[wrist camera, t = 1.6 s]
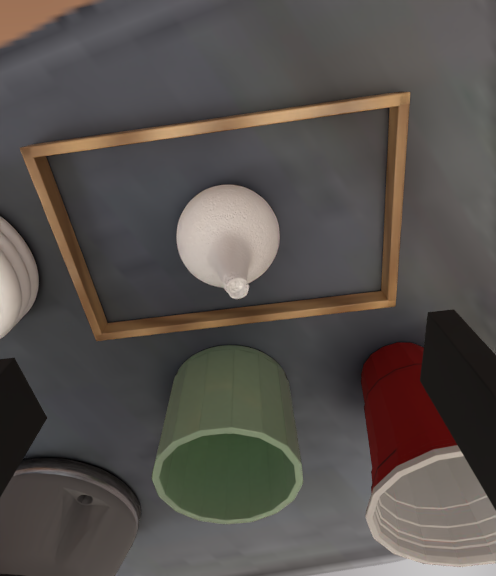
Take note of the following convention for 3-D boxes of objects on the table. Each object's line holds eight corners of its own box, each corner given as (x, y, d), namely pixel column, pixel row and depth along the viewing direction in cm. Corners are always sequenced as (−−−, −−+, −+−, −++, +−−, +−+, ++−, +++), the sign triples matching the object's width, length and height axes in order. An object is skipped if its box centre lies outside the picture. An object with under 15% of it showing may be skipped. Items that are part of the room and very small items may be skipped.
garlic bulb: (174, 182, 23) (144, 225, 16) (276, 176, 23) (292, 217, 16) (187, 274, 26) (167, 345, 19) (278, 269, 26) (291, 338, 19)
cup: (186, 436, 34) (171, 529, 27) (160, 352, 29) (134, 437, 22) (293, 425, 33) (306, 517, 26) (283, 338, 29) (297, 420, 22)
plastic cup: (321, 324, 28) (369, 469, 18) (469, 303, 27) (612, 441, 17) (330, 425, 33) (371, 583, 23) (455, 409, 32) (557, 566, 22)
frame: (102, 330, 28) (96, 341, 27) (31, 144, 22) (18, 148, 21) (388, 296, 27) (395, 306, 26) (400, 91, 21) (410, 91, 20)
